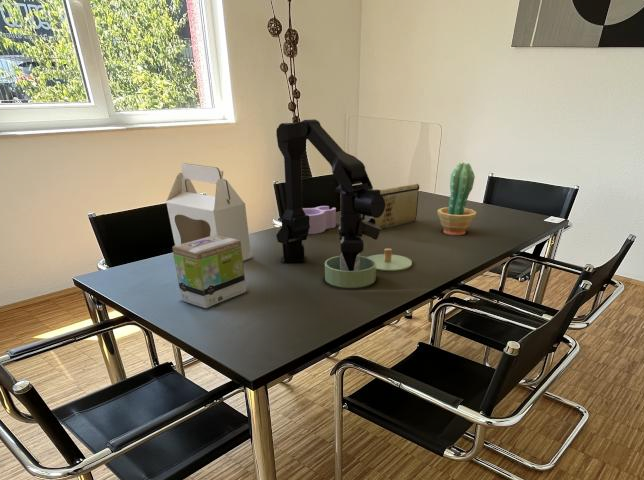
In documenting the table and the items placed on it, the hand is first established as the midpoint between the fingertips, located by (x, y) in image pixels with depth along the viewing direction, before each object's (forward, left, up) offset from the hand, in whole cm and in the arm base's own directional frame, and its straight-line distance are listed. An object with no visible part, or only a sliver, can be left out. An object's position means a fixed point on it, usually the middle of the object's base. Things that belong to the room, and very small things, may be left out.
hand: (350, 266), depth 139 cm
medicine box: (0, 0, -4) cm, 4 cm away
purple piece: (-11, +60, -4) cm, 61 cm away
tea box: (-38, -12, -4) cm, 40 cm away
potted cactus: (+45, +54, -4) cm, 70 cm away
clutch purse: (+20, +65, -4) cm, 68 cm away
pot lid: (+13, +14, -4) cm, 19 cm away
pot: (0, 0, -4) cm, 4 cm away
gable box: (-45, +23, -4) cm, 51 cm away
